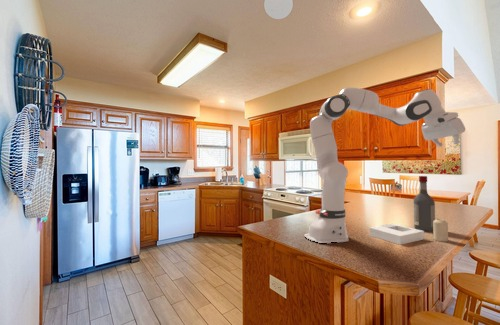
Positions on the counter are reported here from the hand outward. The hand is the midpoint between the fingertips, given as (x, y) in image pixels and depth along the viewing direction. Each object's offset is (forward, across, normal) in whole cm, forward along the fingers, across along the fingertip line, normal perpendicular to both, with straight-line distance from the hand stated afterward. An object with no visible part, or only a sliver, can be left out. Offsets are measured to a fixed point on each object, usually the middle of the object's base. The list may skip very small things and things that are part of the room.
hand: (448, 145), depth 114 cm
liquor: (+42, -18, -18) cm, 49 cm away
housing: (+33, -6, -40) cm, 53 cm away
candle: (+41, -1, -24) cm, 47 cm away
